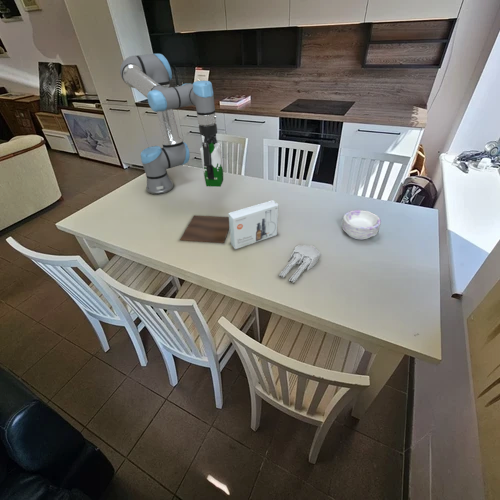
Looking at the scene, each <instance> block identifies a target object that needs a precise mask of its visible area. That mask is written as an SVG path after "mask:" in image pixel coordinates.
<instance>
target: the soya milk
mask: <svg viewBox="0 0 500 500" xmlns="http://www.w3.org/2000/svg"><path fill="white" fill-rule="evenodd" d="M209 150H210V153H211V158H212V165H213V173H214V179H208V175H207V168H206V166H204V155H203V145H202V144H201V147H200V148H199V151H200V152H199V153H200V159H201V164H202V171H203V177H204V181H205V186H206V187H212V188H213V187H222V184H223V182H224V166H223V157H222V149H221V142H217V143H216V144H213V143H210V144H209Z"/></svg>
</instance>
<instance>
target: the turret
mask: <svg viewBox="0 0 500 500" xmlns="http://www.w3.org/2000/svg"><path fill="white" fill-rule="evenodd" d="M321 255H322V253H321V252H320V251H319V249H317V248H316V246H314V245H310V244H299V245H296V246H295V247H294V249H293V251H292V253H291V255H290V257H289V259H288V261H287V265H286V266H285V267H284V268H283V270H282V271H280V273H279V275H278V277H281V278H282V279H284V278H285V277H286V276H287V275H288V274H289V273H290V271H291V270H292V269H293V268H294V267H295V266H296V265H299V267H298V268H297V269H296V271H294V273H293V274H292V276H290V278H289V280H288V282H291V283H292V284H294V283H295V282H296V281H297V279H298V278H299V277H300V276H301V274H303V272H304V271H305V270H306V271H309V270H311V269H312V268H313V267H315V266H316V264H317V263H318V261H319V259H320V258H321Z"/></svg>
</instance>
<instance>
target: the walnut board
mask: <svg viewBox="0 0 500 500" xmlns="http://www.w3.org/2000/svg"><path fill="white" fill-rule="evenodd" d="M229 232H230V229H229V216H213V215H211V216H210V215H193V216H192V218H191V220H190V222H189V224H188V225H187V226H186V229H185V230H184V232H183V234H182V235H181V237H180V239H179V240H180V241H184V242H199V243H212V244H213V243H214V244H225V242H226V238H227V236H228V233H229Z"/></svg>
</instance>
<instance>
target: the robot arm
mask: <svg viewBox="0 0 500 500" xmlns="http://www.w3.org/2000/svg"><path fill="white" fill-rule="evenodd" d="M119 73H120V77H121V79H122V81H123V82H124V83H125V84H126V85H127V86H128V87H130V88H132V89H135V90H137V92H139V93H140V94H141V95H143V96H144V97H145V98H146V99H147V103H148V105H149V107H150V109H151V111H153V112H154V113H156V115H157V119H158V123H159V126H160V127H159V128H160V130H161V134H162V137H163V141H162V143H161V145H162V147H161V146H159V145H154V146H153V145H151V146H149V147H146V148H144V149H142V151H141V152H140V161H141V163H142V166H143V170H144V173H145V176H146V191H147V193H148V194H150V195H163V194H167V193H169V192H170V191H172V190H173V189H174V183H173V181H172V179H171V178H170V177H169V175H168V171H167V170H169V169H172V168H176V167H179V166H183V165H185V164H188V163H189V161H190V157H191V156H190V154H191V153H190V149H189V147H188V144H187V143H186V142H184V140H183V139H182V138H181V137H180V134H179V130H178V125H177V122H176V118H175V113H174V109H179V108H185V107H191V106H194V107H195V109H196V118H197V124H198V130H199V134H200V136H203V138H204V139H203V142H202V143H201V146H202V145H203V155H204V166H206V168H207V175H208V179H214V173H213V165H212V158H211V153H210V150H209V144H210V143H213V144H216V143H218V139H217V134H218V126H217V118H218V115H217V114H216V107H215V97H214V96H215V95H214V89H213V84H212V82H211V81H210V80H196V81H194V82H193V83H191V82H190V83H183V84H181V85H178V86H171V87H170V85H171V83H170V81H172V78H173V73H172V68H171V65H170V63H169V61H168V59H167V58H166V57H165V56H164V55H163V54H162V53H147V54H139V55H131V56H127V57H126V58H125V59H123V61H122V62H121V64H120V68H119Z"/></svg>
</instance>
